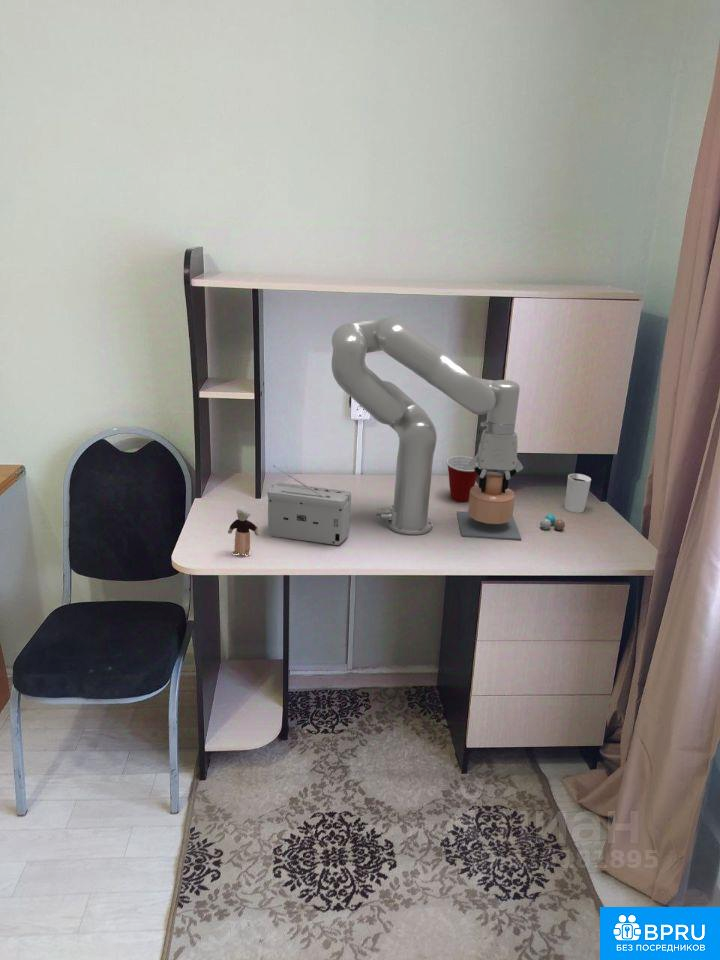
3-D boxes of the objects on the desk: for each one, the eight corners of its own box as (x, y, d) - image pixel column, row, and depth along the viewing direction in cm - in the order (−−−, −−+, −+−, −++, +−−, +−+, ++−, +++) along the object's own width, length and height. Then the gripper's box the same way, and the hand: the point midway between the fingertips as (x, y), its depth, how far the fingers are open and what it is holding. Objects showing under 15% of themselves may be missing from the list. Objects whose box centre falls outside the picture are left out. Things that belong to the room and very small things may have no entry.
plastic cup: (450, 506, 215) (454, 468, 211) (437, 493, 225) (441, 456, 220) (484, 504, 218) (489, 467, 214) (469, 491, 228) (474, 455, 223)
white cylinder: (573, 514, 215) (578, 482, 211) (558, 505, 220) (563, 475, 217) (590, 511, 217) (596, 480, 214) (575, 503, 223) (580, 472, 219)
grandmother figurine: (227, 557, 178) (226, 510, 174) (228, 550, 182) (227, 503, 177) (258, 557, 179) (258, 510, 175) (259, 550, 183) (259, 504, 178)
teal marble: (545, 526, 206) (546, 516, 205) (543, 521, 208) (544, 512, 207) (555, 526, 206) (557, 517, 205) (553, 522, 208) (555, 512, 207)
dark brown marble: (554, 531, 203) (555, 521, 202) (552, 527, 205) (553, 517, 204) (565, 532, 203) (566, 522, 201) (562, 527, 205) (564, 518, 204)
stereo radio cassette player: (349, 535, 194) (353, 465, 186) (342, 549, 186) (346, 476, 179) (274, 525, 197) (275, 455, 190) (264, 537, 190) (264, 465, 182)
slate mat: (461, 536, 196) (461, 534, 196) (456, 512, 211) (457, 511, 211) (521, 540, 196) (521, 538, 196) (512, 516, 211) (512, 514, 211)
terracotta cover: (470, 522, 197) (474, 481, 193) (466, 504, 208) (470, 466, 204) (514, 525, 197) (520, 484, 192) (508, 507, 208) (513, 468, 203)
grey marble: (540, 530, 203) (542, 520, 202) (538, 526, 205) (540, 516, 204) (551, 531, 203) (552, 521, 202) (549, 526, 205) (550, 517, 204)
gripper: (469, 429, 190) (462, 494, 196) (535, 433, 189) (526, 497, 196) (466, 421, 197) (460, 484, 203) (530, 425, 196) (521, 487, 203)
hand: (492, 490), depth 200 cm, fingers closed on terracotta cover, 5 cm apart
